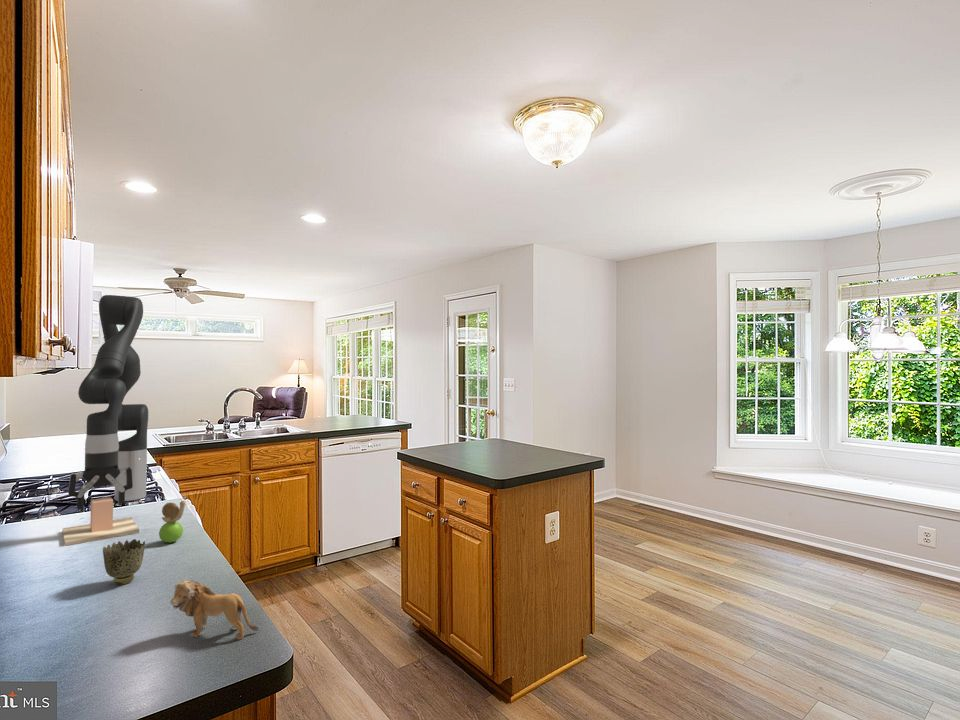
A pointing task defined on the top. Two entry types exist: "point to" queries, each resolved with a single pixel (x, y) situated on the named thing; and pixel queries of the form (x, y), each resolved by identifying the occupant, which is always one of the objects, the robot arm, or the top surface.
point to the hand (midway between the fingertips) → (101, 507)
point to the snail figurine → (172, 522)
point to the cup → (123, 560)
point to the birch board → (99, 532)
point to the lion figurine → (209, 606)
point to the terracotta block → (101, 514)
